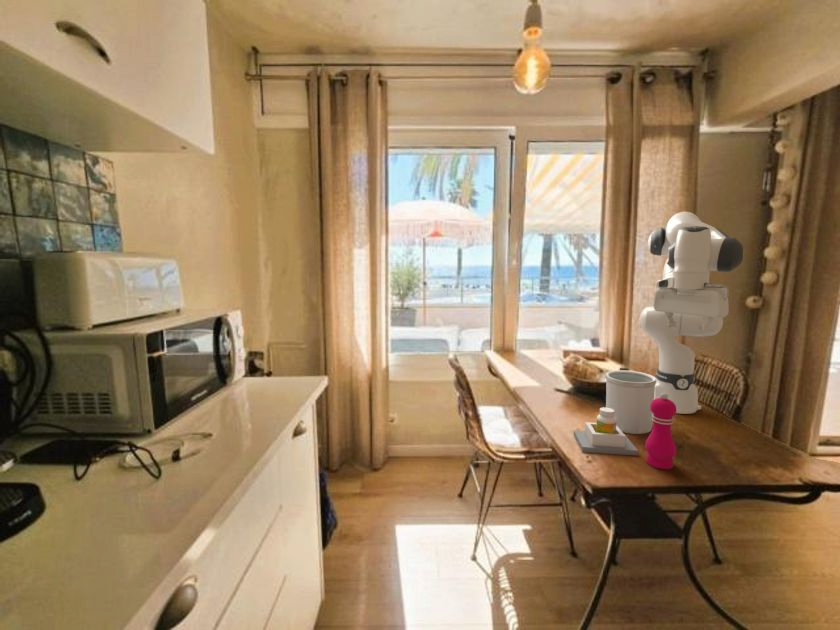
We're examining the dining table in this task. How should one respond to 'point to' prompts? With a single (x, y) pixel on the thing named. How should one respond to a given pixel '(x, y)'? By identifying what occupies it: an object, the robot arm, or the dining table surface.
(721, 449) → the dining table surface
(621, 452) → the docking board
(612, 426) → the supplement bottle
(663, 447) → the pepper mill
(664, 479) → the dining table surface
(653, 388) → the utensil holder
